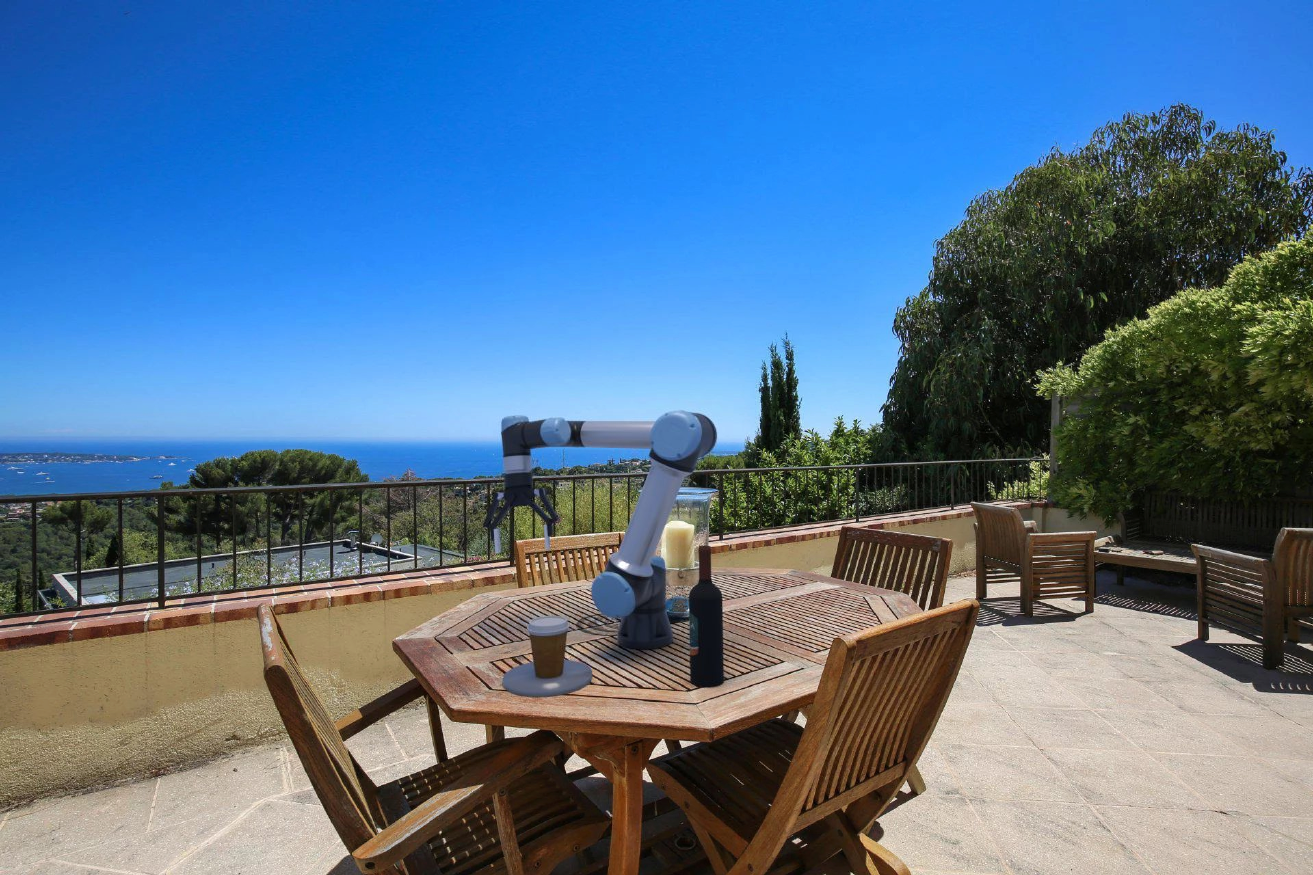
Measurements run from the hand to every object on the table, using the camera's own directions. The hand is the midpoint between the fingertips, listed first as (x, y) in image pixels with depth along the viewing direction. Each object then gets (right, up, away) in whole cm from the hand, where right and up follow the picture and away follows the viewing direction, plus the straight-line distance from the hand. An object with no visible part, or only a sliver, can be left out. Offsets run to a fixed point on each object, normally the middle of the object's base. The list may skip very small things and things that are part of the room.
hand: (522, 551), depth 168 cm
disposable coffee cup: (+12, -23, -26) cm, 37 cm away
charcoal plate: (+11, -24, -26) cm, 38 cm away
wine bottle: (+47, -24, -29) cm, 60 cm away
